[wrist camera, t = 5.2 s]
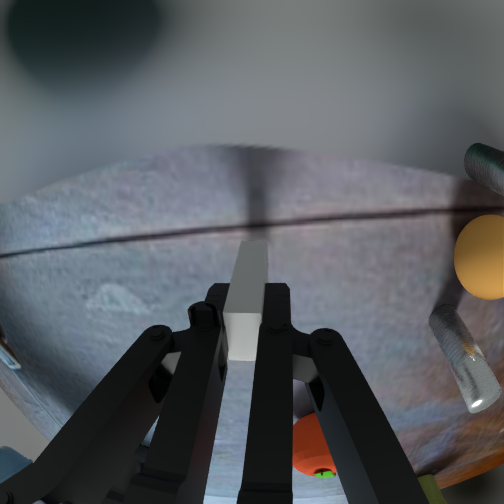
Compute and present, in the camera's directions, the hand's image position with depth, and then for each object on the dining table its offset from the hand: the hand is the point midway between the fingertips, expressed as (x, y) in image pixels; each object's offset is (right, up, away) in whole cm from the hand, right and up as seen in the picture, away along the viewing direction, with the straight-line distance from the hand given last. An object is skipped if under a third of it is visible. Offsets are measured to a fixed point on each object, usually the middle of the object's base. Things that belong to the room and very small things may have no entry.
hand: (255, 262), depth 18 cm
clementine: (+7, -17, +10) cm, 21 cm away
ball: (+15, 0, -3) cm, 16 cm away
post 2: (+15, -5, +3) cm, 16 cm away
